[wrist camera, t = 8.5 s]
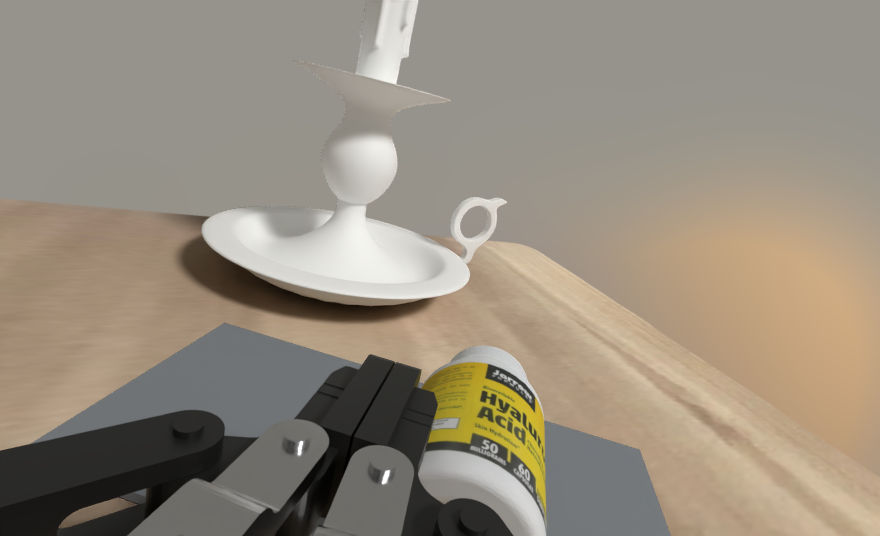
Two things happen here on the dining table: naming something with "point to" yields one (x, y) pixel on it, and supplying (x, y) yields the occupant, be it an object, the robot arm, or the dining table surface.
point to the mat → (304, 370)
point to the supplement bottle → (488, 438)
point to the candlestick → (355, 195)
